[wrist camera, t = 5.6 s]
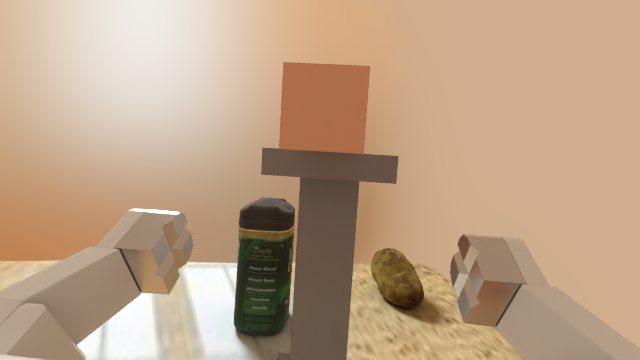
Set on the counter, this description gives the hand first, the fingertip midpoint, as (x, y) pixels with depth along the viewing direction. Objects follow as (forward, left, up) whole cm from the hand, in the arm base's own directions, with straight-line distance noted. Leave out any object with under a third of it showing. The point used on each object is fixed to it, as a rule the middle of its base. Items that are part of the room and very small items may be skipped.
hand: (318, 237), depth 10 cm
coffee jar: (+12, +36, -24) cm, 45 cm away
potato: (+37, +35, -24) cm, 56 cm away
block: (+9, +14, +3) cm, 17 cm away
